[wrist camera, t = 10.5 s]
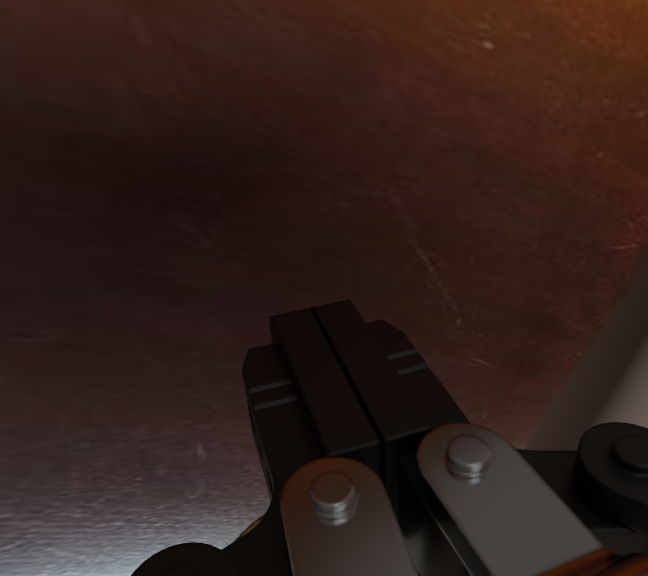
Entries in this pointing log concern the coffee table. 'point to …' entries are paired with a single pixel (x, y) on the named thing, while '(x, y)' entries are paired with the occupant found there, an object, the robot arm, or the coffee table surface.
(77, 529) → the coffee table surface
